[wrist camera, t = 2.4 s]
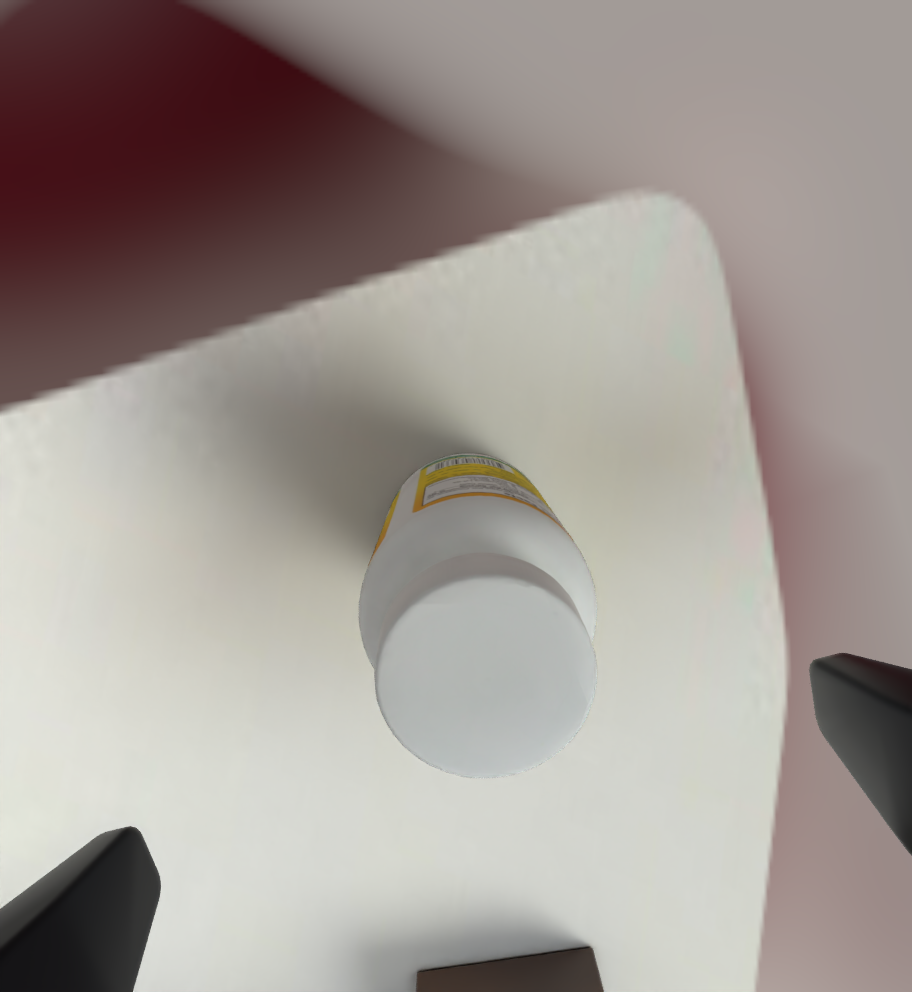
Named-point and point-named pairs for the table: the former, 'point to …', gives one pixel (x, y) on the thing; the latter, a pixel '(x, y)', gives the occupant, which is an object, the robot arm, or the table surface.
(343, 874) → the table surface
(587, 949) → the step shelf
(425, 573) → the supplement bottle
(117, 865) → the robot arm
